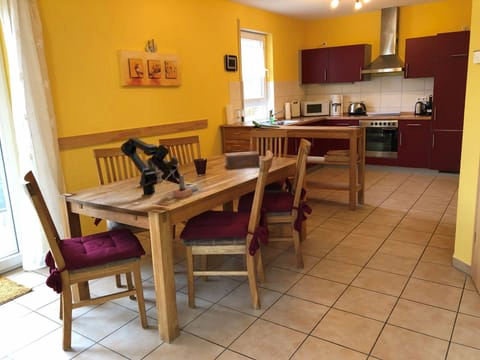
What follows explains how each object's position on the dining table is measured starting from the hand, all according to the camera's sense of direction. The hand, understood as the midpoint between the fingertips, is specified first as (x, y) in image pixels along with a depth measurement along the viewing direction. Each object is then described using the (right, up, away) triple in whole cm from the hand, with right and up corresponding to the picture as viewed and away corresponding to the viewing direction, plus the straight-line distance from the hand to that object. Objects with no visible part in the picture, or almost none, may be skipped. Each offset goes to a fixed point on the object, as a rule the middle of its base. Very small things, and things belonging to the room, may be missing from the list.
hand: (181, 181), depth 222 cm
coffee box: (-25, 0, +47) cm, 53 cm away
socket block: (+3, -5, +13) cm, 14 cm away
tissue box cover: (+36, +12, +92) cm, 100 cm away
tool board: (+2, -8, +7) cm, 10 cm away
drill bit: (+1, -8, +2) cm, 8 cm away
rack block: (+1, -8, +2) cm, 8 cm away
